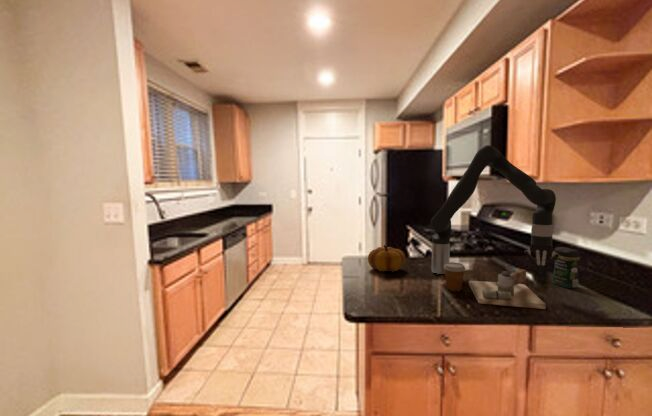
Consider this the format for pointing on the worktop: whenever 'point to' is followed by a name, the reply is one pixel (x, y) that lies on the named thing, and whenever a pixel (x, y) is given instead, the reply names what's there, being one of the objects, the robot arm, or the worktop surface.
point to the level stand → (505, 295)
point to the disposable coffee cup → (454, 275)
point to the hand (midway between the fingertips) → (540, 273)
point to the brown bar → (510, 280)
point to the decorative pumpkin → (386, 259)
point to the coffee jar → (566, 267)
